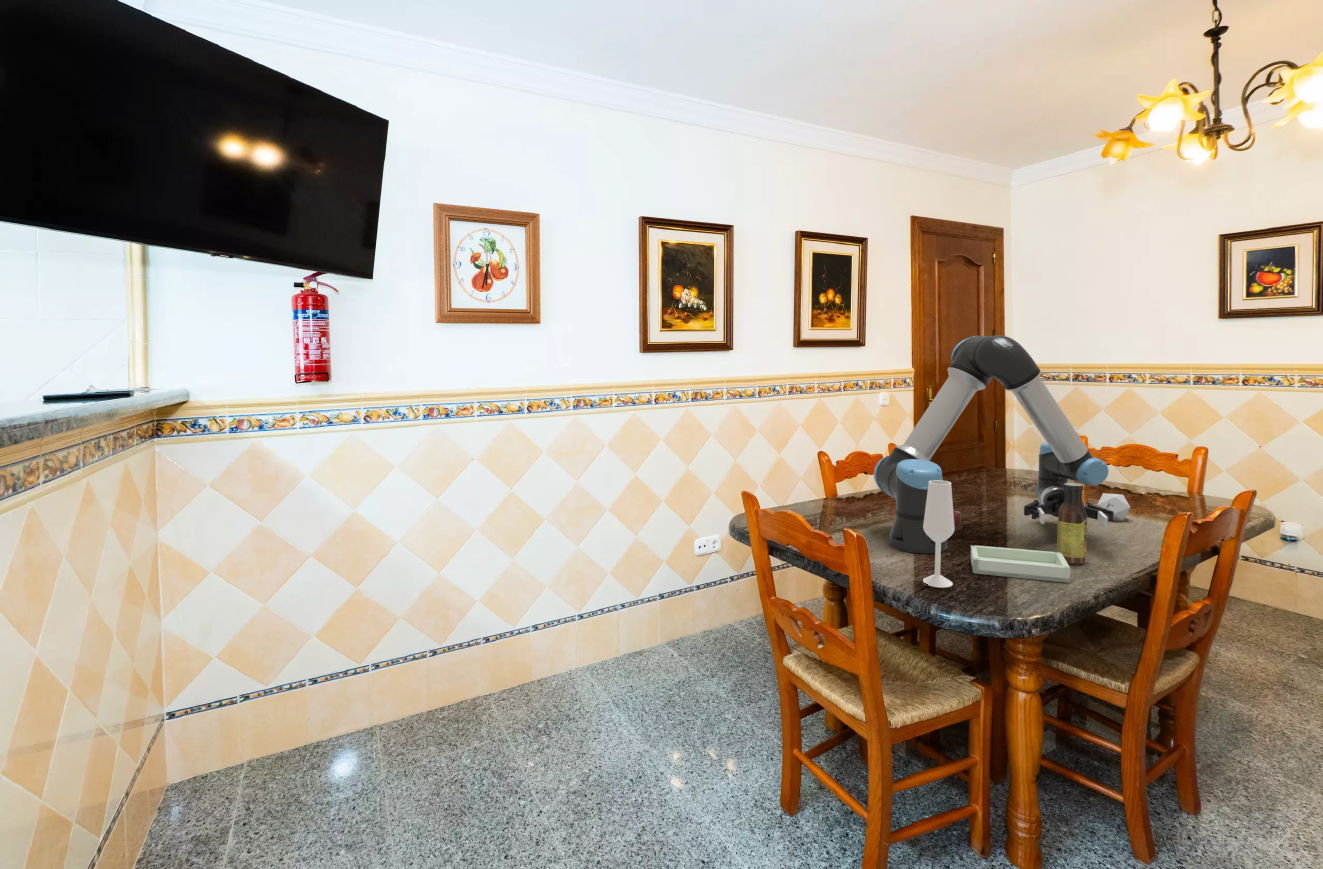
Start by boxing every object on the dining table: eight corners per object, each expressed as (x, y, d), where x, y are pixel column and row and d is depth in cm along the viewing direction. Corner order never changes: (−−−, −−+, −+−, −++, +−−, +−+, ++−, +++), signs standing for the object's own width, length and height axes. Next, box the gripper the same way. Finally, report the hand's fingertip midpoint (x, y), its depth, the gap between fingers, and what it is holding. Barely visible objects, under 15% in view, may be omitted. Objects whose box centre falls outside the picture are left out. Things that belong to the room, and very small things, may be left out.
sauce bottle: (1090, 566, 154) (1095, 487, 151) (1062, 565, 155) (1066, 487, 153) (1078, 557, 160) (1082, 481, 158) (1051, 556, 162) (1055, 481, 159)
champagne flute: (915, 579, 149) (917, 481, 145) (937, 575, 151) (940, 478, 148) (936, 589, 142) (939, 486, 139) (959, 584, 145) (962, 483, 142)
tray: (972, 573, 152) (973, 559, 151) (970, 558, 162) (970, 545, 162) (1069, 583, 144) (1070, 568, 143) (1060, 566, 154) (1060, 552, 154)
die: (1088, 517, 198) (1091, 498, 192) (1107, 502, 200) (1110, 482, 194) (1115, 531, 192) (1119, 512, 186) (1133, 516, 194) (1138, 496, 188)
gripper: (1109, 517, 174) (1132, 539, 154) (1007, 511, 183) (1017, 531, 164) (1111, 491, 173) (1134, 509, 153) (1009, 486, 182) (1018, 503, 163)
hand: (1073, 520), depth 159 cm, fingers open, 13 cm apart
